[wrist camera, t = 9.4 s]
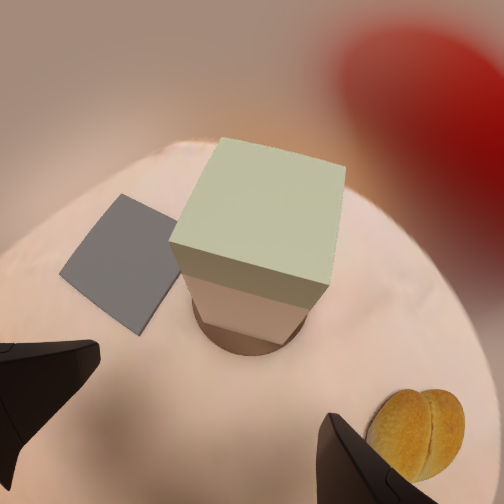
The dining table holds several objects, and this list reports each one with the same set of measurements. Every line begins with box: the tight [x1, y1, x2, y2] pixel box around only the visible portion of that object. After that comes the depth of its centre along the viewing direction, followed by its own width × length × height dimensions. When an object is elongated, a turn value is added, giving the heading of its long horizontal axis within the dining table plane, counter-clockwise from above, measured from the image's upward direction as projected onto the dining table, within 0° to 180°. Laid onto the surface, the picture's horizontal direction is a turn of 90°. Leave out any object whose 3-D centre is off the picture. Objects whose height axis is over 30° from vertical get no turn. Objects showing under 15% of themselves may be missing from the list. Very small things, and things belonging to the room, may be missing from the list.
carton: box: [169, 137, 346, 345], centre depth 17 cm, size 6×6×12 cm
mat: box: [59, 193, 181, 336], centre depth 24 cm, size 10×10×1 cm
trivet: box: [192, 298, 307, 356], centre depth 23 cm, size 9×9×1 cm
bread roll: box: [366, 389, 465, 484], centre depth 16 cm, size 8×9×4 cm
